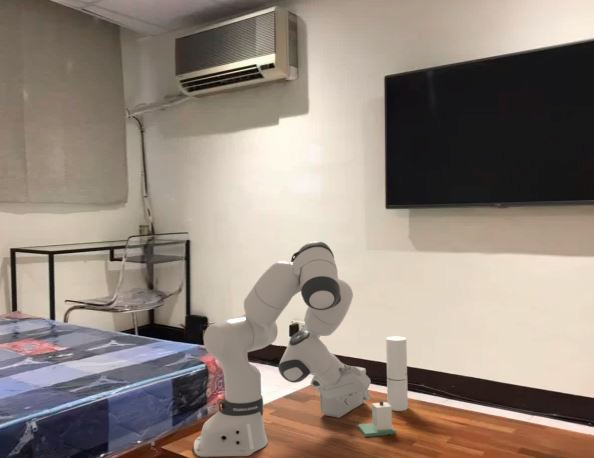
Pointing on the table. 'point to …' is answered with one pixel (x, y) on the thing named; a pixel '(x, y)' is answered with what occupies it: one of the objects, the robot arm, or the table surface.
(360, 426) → the header board
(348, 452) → the table surface
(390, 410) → the block
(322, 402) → the stereo radio cassette player
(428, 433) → the table surface
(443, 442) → the table surface
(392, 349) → the cylindrical container
